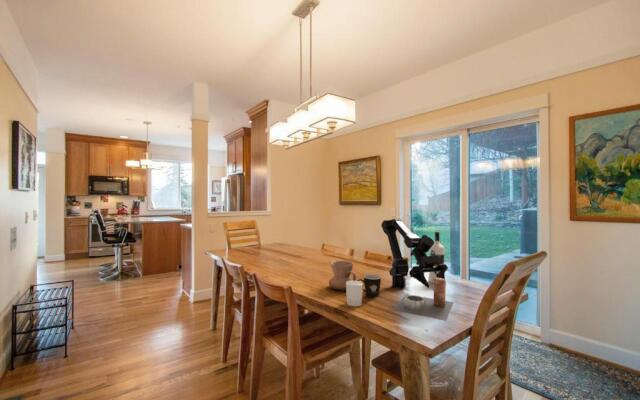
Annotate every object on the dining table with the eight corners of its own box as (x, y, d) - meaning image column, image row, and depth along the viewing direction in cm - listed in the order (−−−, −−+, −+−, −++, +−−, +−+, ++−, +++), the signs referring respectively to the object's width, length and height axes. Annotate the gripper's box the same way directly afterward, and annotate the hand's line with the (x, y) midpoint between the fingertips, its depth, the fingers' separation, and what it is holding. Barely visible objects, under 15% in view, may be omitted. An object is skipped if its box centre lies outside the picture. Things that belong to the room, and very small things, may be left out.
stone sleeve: (402, 308, 130) (402, 299, 130) (407, 302, 137) (407, 294, 137) (422, 312, 125) (422, 303, 125) (426, 306, 133) (426, 297, 133)
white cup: (344, 301, 141) (344, 280, 141) (360, 300, 142) (360, 280, 142) (347, 307, 133) (347, 285, 133) (364, 306, 134) (364, 285, 134)
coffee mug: (382, 295, 150) (382, 275, 150) (378, 300, 142) (378, 280, 142) (360, 292, 155) (360, 273, 155) (355, 297, 147) (355, 277, 147)
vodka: (448, 283, 171) (449, 232, 171) (436, 285, 168) (436, 233, 167) (436, 279, 180) (437, 230, 179) (424, 281, 176) (425, 231, 176)
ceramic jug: (321, 287, 163) (322, 262, 163) (340, 282, 173) (340, 258, 172) (345, 296, 150) (345, 268, 149) (363, 290, 159) (364, 264, 159)
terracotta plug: (432, 306, 133) (432, 279, 132) (434, 302, 137) (434, 277, 137) (444, 308, 130) (444, 281, 130) (446, 304, 134) (446, 278, 134)
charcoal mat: (391, 311, 128) (391, 309, 128) (406, 296, 149) (406, 294, 149) (446, 323, 117) (446, 320, 117) (453, 304, 138) (453, 302, 138)
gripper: (412, 249, 137) (428, 279, 127) (445, 247, 143) (462, 275, 132) (402, 262, 145) (416, 291, 134) (434, 260, 150) (450, 288, 140)
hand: (437, 286), depth 135 cm, fingers open, 9 cm apart
